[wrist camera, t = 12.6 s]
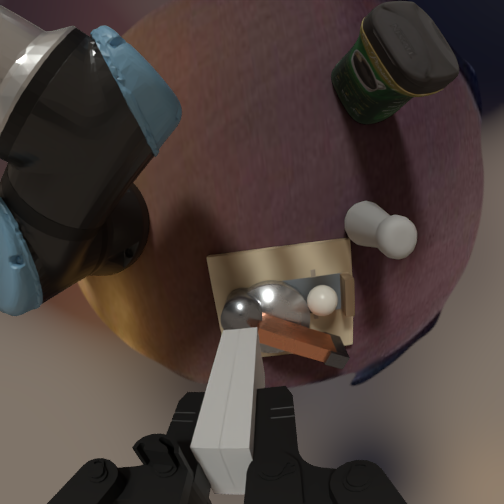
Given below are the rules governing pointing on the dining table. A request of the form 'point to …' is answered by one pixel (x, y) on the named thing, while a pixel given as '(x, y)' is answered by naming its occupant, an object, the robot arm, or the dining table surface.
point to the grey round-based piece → (281, 322)
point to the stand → (292, 278)
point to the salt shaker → (380, 230)
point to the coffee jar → (393, 62)
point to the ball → (322, 300)
